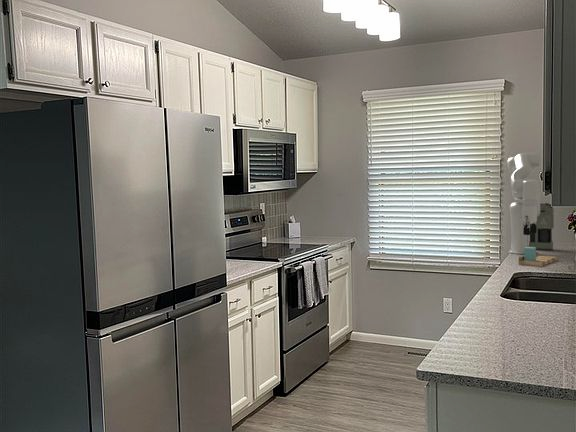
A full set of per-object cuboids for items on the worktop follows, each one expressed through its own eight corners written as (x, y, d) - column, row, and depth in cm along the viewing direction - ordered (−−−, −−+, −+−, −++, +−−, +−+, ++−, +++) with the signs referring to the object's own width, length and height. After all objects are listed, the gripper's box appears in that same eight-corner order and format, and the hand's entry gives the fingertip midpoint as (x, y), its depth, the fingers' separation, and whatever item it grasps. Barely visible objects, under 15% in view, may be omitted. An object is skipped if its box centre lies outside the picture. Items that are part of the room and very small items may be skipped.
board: (534, 258, 324) (534, 251, 324) (556, 260, 316) (556, 253, 315) (518, 264, 307) (518, 256, 307) (541, 266, 299) (541, 258, 298)
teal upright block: (527, 259, 311) (527, 246, 310) (536, 259, 308) (536, 247, 307) (524, 260, 307) (524, 247, 307) (532, 261, 304) (532, 248, 303)
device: (553, 249, 358) (554, 202, 355) (552, 250, 351) (552, 203, 349) (530, 248, 365) (530, 202, 363) (528, 249, 359) (528, 203, 356)
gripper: (529, 201, 314) (529, 231, 315) (516, 204, 301) (516, 235, 303) (542, 201, 309) (542, 232, 310) (531, 204, 296) (530, 236, 298)
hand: (529, 233), depth 307 cm, fingers open, 9 cm apart
